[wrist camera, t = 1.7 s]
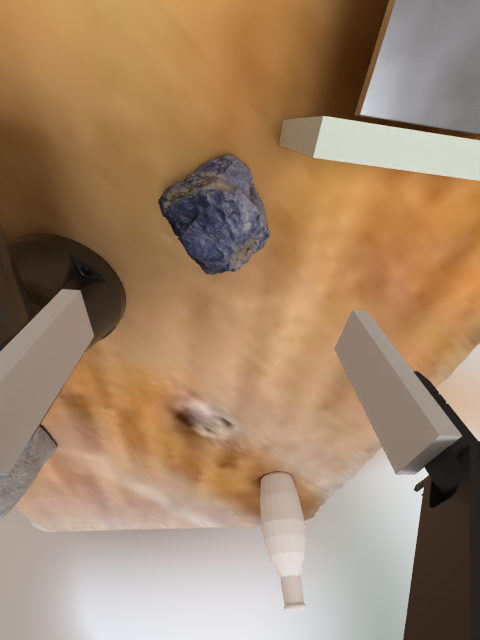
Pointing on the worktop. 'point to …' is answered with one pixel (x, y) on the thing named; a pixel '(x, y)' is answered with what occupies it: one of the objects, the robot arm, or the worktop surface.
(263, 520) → the bottle
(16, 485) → the decorative stone
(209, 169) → the rock
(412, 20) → the trapdoor
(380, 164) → the frame
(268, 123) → the worktop surface
